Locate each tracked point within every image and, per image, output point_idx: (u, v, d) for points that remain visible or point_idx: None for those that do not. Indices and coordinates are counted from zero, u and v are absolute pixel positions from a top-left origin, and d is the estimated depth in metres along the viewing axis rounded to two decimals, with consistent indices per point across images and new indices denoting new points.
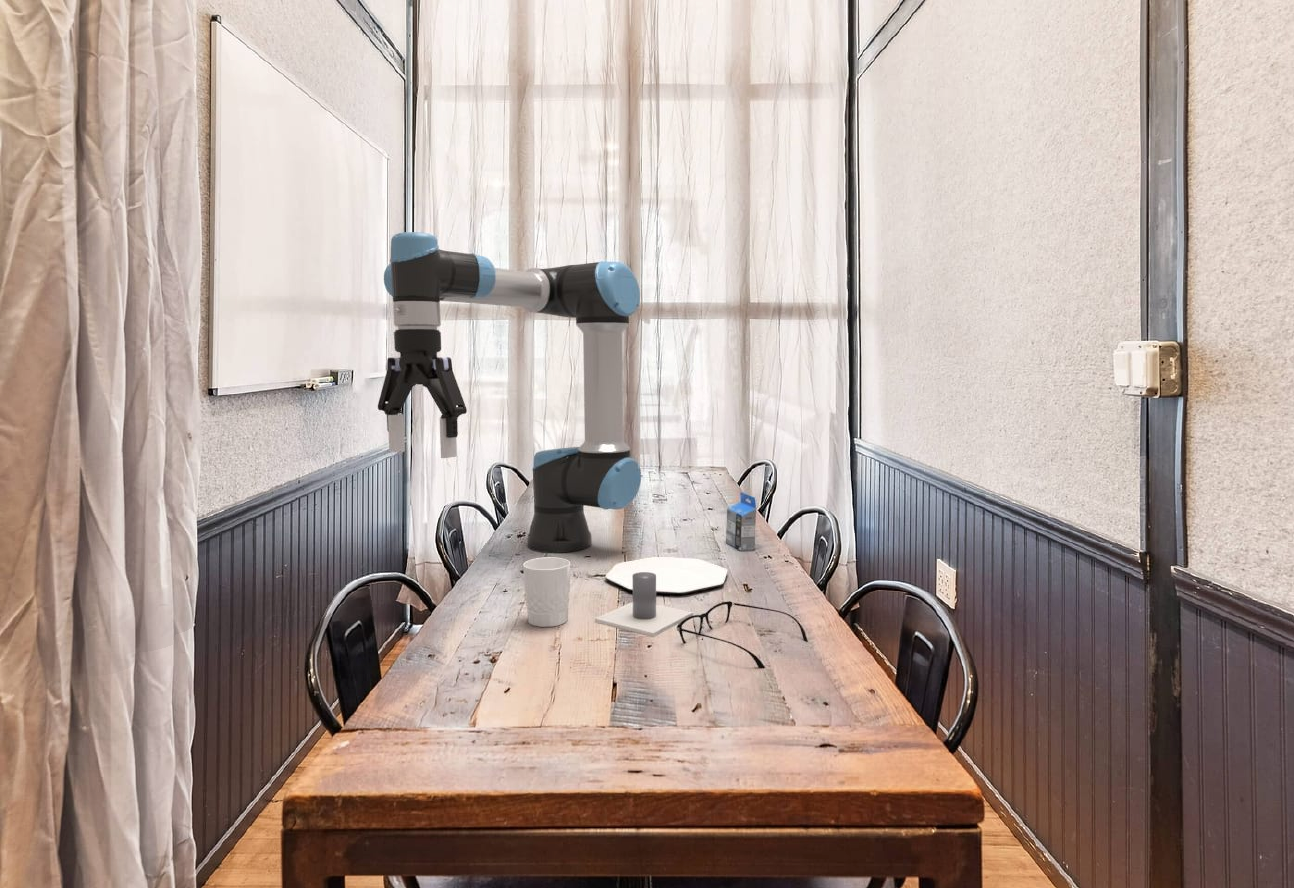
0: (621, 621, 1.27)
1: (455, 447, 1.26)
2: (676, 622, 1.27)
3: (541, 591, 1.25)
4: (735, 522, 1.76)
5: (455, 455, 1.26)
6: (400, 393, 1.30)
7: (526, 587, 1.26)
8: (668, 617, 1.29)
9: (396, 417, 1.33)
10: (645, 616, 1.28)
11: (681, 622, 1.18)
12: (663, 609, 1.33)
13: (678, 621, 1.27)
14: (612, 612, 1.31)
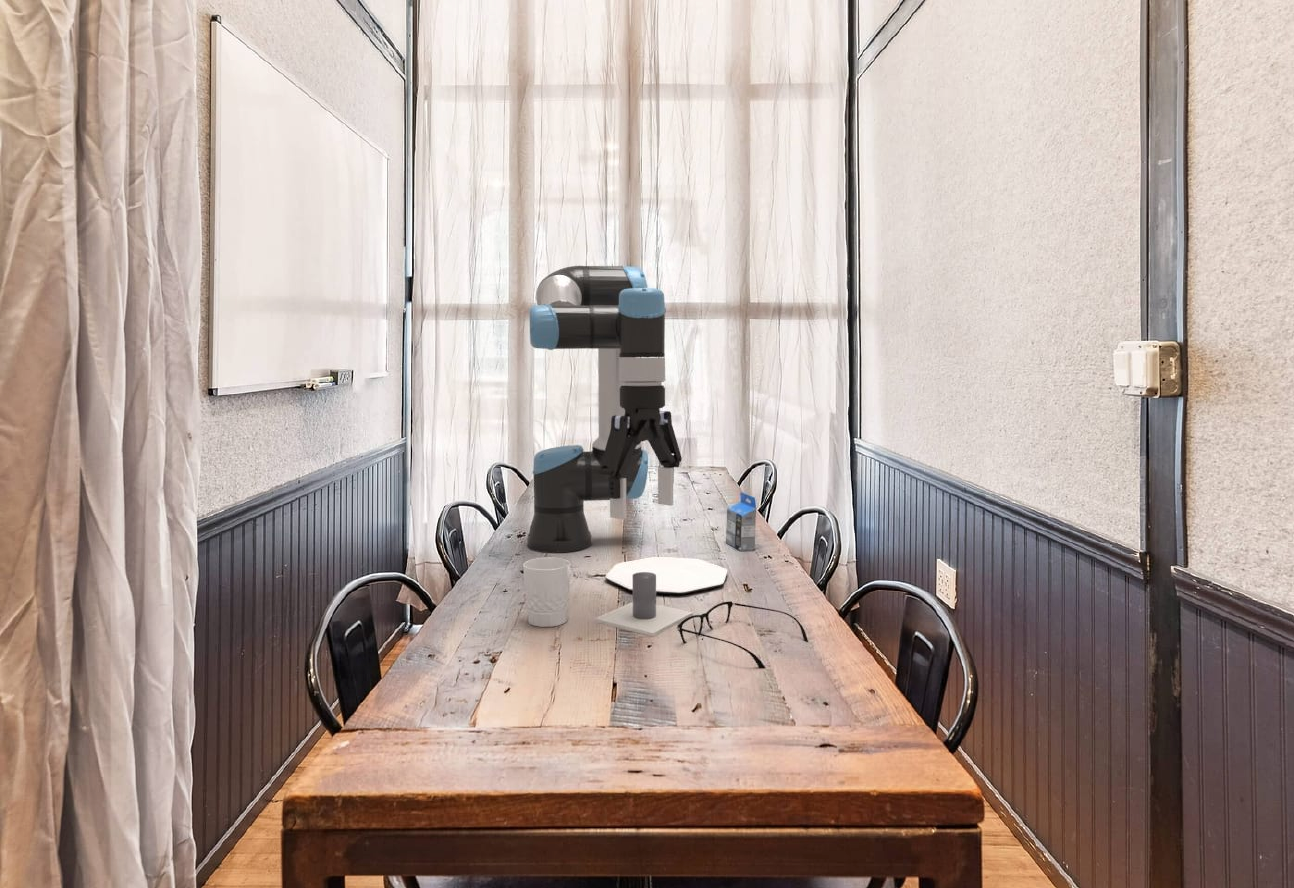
0: (621, 621, 1.27)
1: (622, 509, 1.21)
2: (676, 622, 1.27)
3: (541, 591, 1.25)
4: (735, 522, 1.76)
5: (622, 517, 1.21)
6: (653, 446, 1.30)
7: (526, 587, 1.26)
8: (668, 617, 1.29)
9: (663, 470, 1.32)
10: (645, 616, 1.28)
11: (681, 622, 1.18)
12: (663, 609, 1.33)
13: (678, 621, 1.27)
14: (612, 612, 1.31)
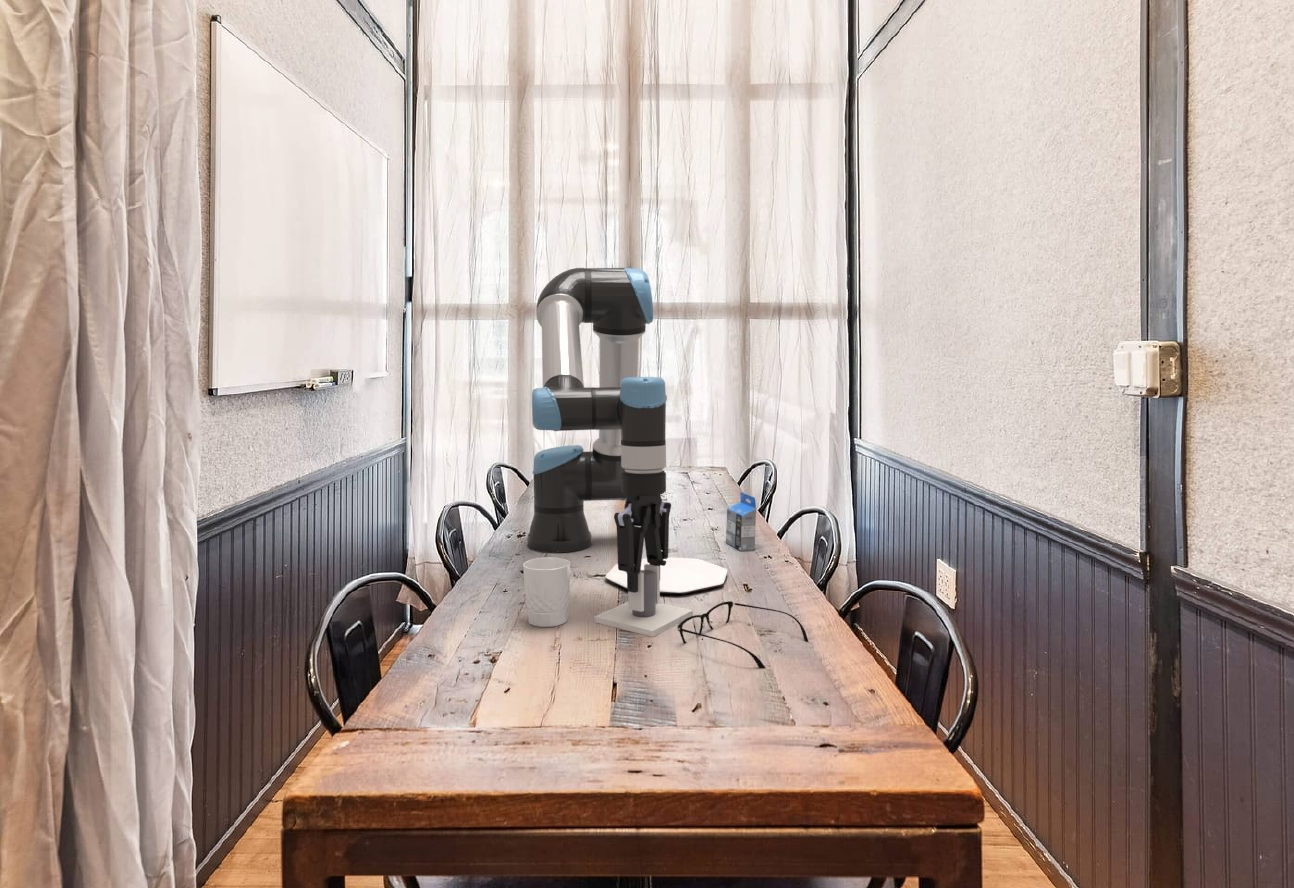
0: (620, 619, 1.27)
1: (640, 602, 1.26)
2: (676, 620, 1.27)
3: (541, 591, 1.25)
4: (735, 522, 1.76)
5: (639, 610, 1.27)
6: (646, 536, 1.30)
7: (526, 587, 1.26)
8: (668, 615, 1.28)
9: (649, 568, 1.30)
10: (645, 614, 1.28)
11: (681, 622, 1.18)
12: (663, 607, 1.33)
13: (678, 619, 1.27)
14: (612, 610, 1.31)
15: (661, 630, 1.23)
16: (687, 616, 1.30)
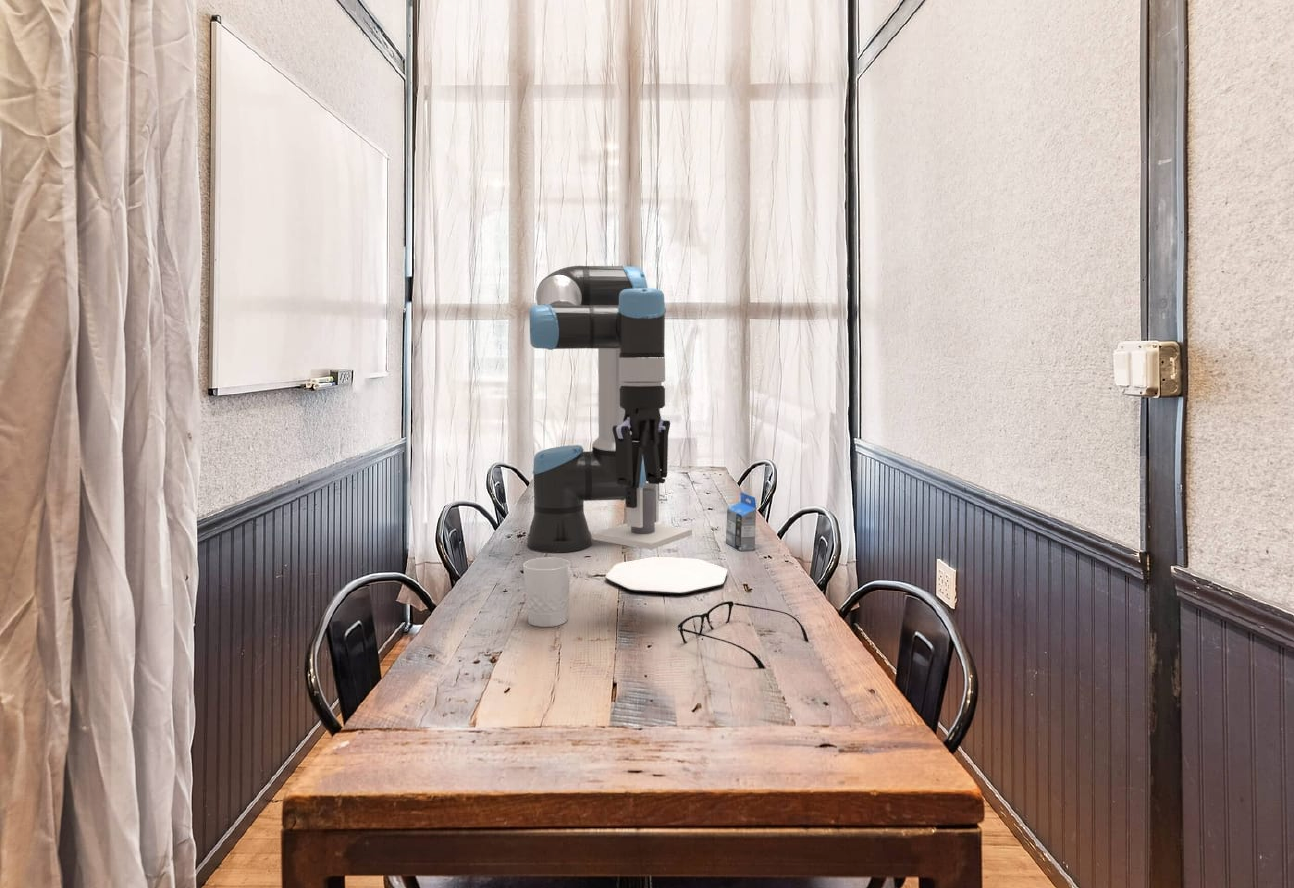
0: (619, 535, 1.25)
1: (638, 518, 1.25)
2: (675, 536, 1.25)
3: (541, 591, 1.25)
4: (735, 522, 1.76)
5: (638, 526, 1.25)
6: (644, 453, 1.28)
7: (526, 587, 1.26)
8: (667, 532, 1.27)
9: (648, 486, 1.29)
10: (643, 531, 1.26)
11: (682, 622, 1.18)
12: (662, 526, 1.31)
13: (677, 536, 1.26)
14: (610, 529, 1.30)
15: (660, 544, 1.22)
16: (686, 534, 1.28)
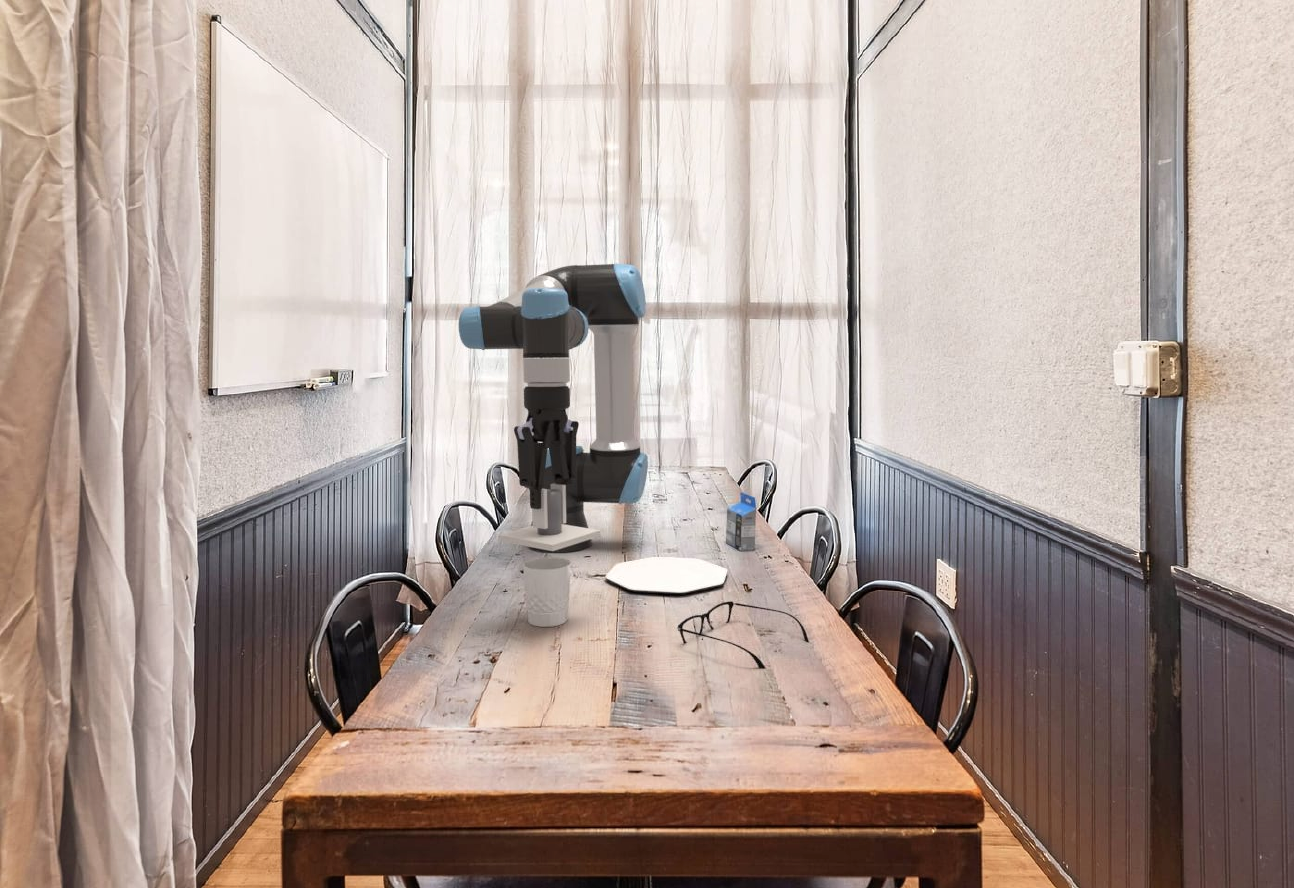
0: (524, 536, 1.25)
1: (543, 519, 1.24)
2: (580, 537, 1.25)
3: (541, 591, 1.25)
4: (735, 522, 1.76)
5: (543, 527, 1.24)
6: (551, 454, 1.28)
7: (526, 587, 1.26)
8: (573, 534, 1.26)
9: (555, 487, 1.28)
10: (549, 532, 1.25)
11: (682, 622, 1.18)
12: (571, 528, 1.31)
13: (582, 537, 1.25)
14: (518, 530, 1.29)
15: (563, 545, 1.21)
16: (594, 535, 1.28)
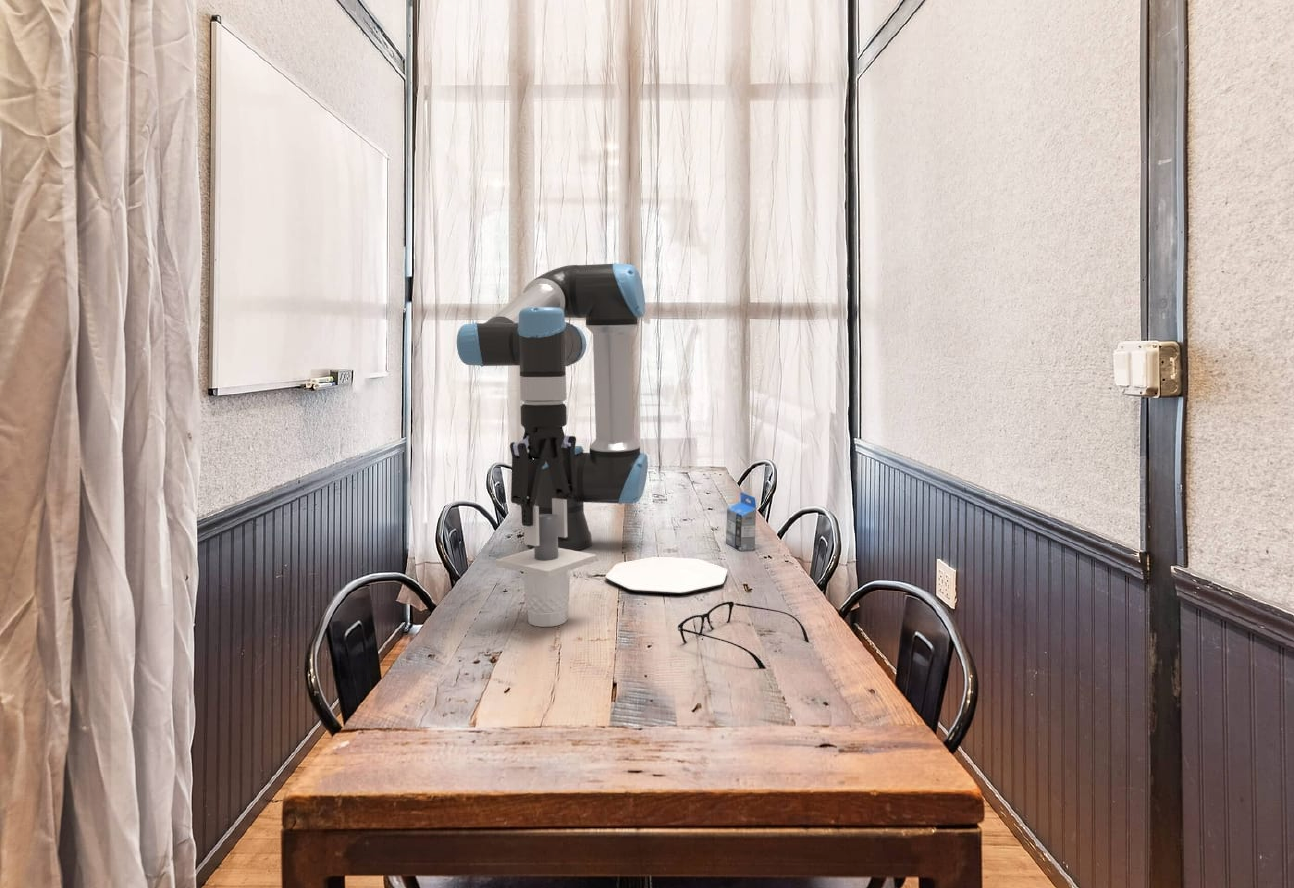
0: (520, 561, 1.25)
1: (535, 536, 1.24)
2: (576, 563, 1.25)
3: (541, 591, 1.25)
4: (735, 522, 1.76)
5: (535, 544, 1.24)
6: (551, 470, 1.29)
7: (526, 587, 1.26)
8: (569, 559, 1.27)
9: (557, 501, 1.29)
10: (545, 557, 1.26)
11: (682, 622, 1.18)
12: (568, 552, 1.31)
13: (579, 562, 1.26)
14: (515, 555, 1.29)
15: (558, 571, 1.22)
16: (590, 560, 1.28)
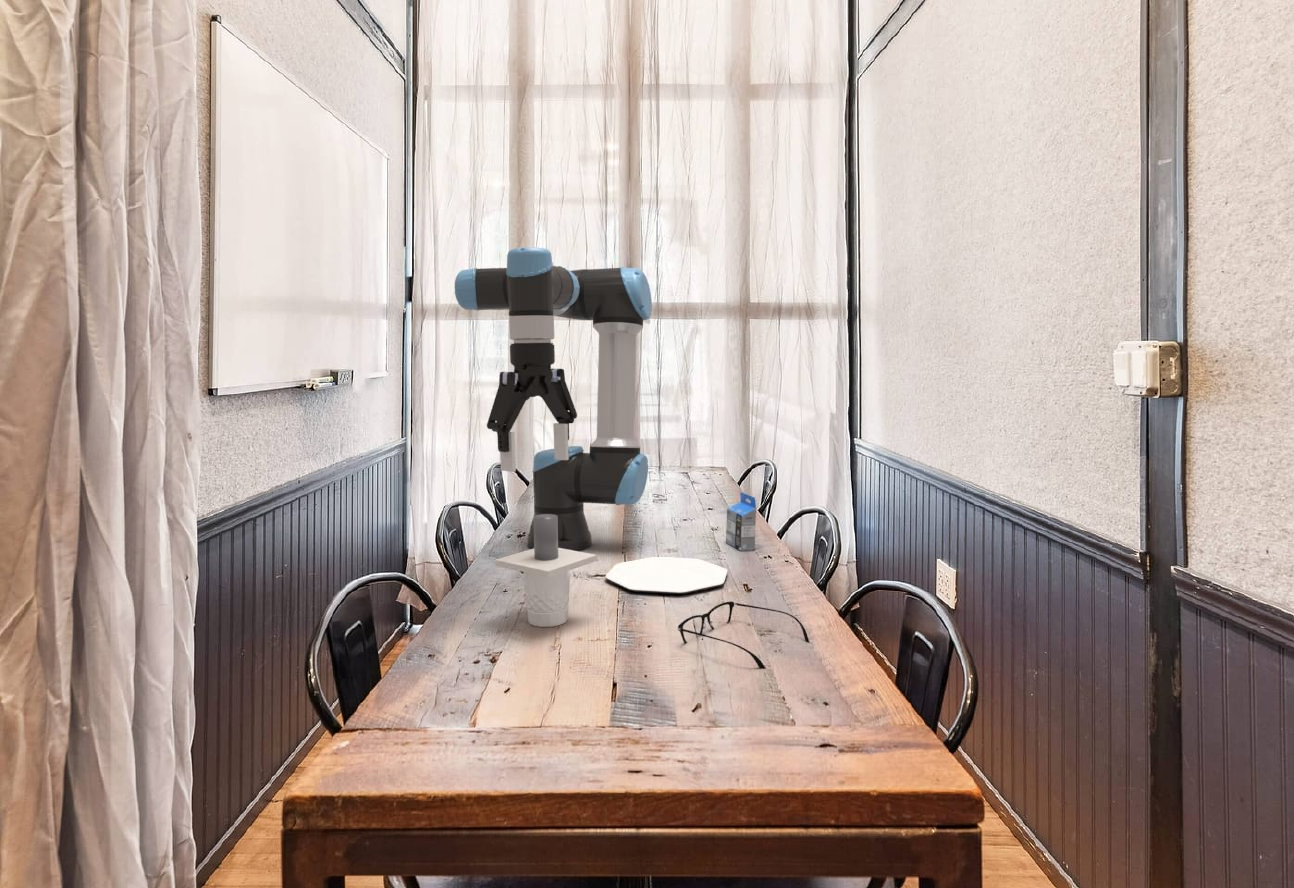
0: (520, 561, 1.25)
1: (511, 462, 1.26)
2: (576, 563, 1.25)
3: (541, 591, 1.25)
4: (735, 522, 1.76)
5: (511, 470, 1.26)
6: (547, 403, 1.35)
7: (526, 587, 1.26)
8: (570, 559, 1.27)
9: (558, 426, 1.37)
10: (545, 557, 1.26)
11: (682, 622, 1.18)
12: (568, 552, 1.31)
13: (579, 562, 1.26)
14: (515, 555, 1.29)
15: (558, 571, 1.22)
16: (590, 560, 1.28)
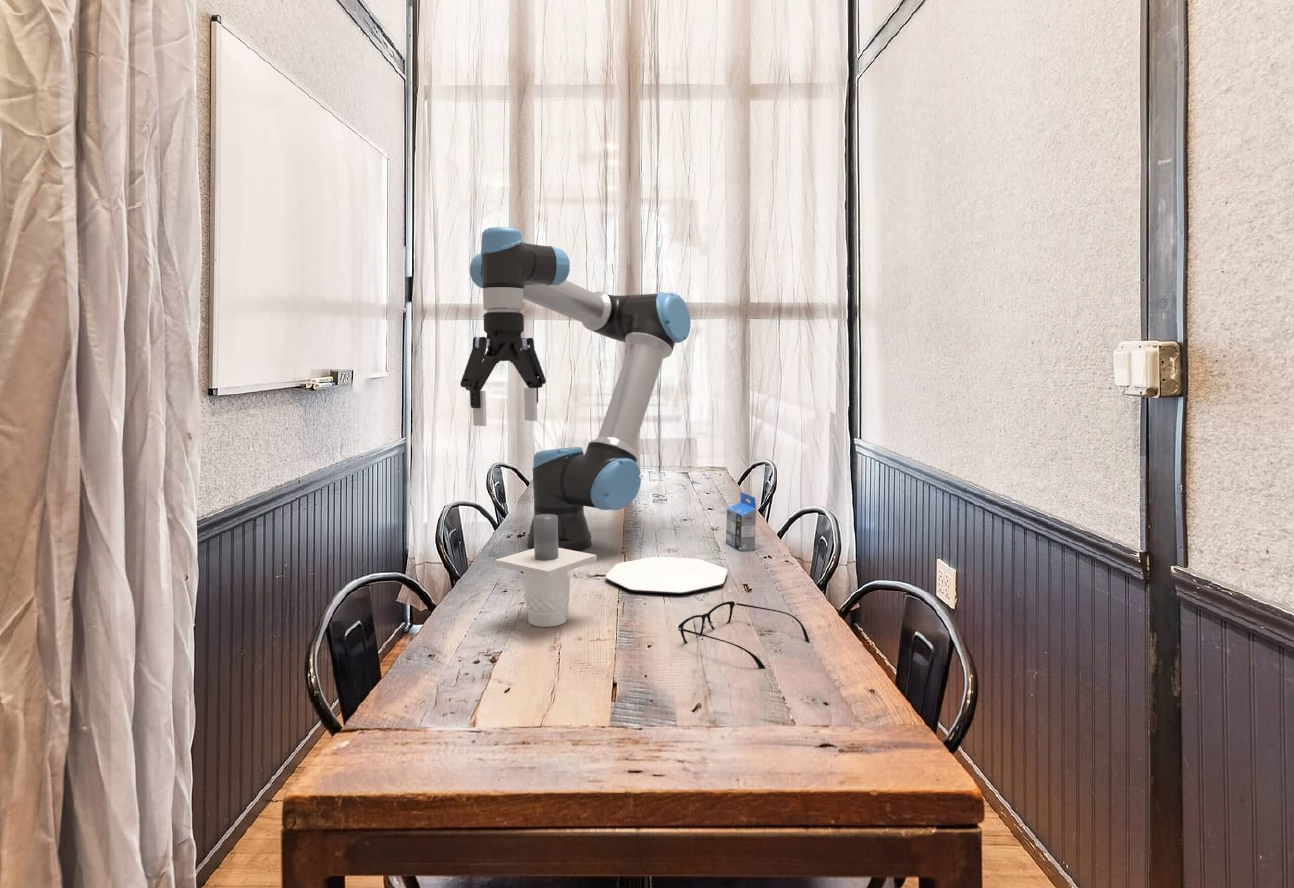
0: (520, 561, 1.25)
1: (482, 417, 1.41)
2: (576, 563, 1.25)
3: (541, 591, 1.25)
4: (735, 522, 1.76)
5: (482, 425, 1.41)
6: (518, 368, 1.50)
7: (526, 587, 1.26)
8: (570, 559, 1.27)
9: (528, 390, 1.52)
10: (545, 557, 1.26)
11: (682, 622, 1.18)
12: (568, 552, 1.31)
13: (579, 562, 1.26)
14: (515, 555, 1.30)
15: (558, 571, 1.22)
16: (590, 560, 1.28)
